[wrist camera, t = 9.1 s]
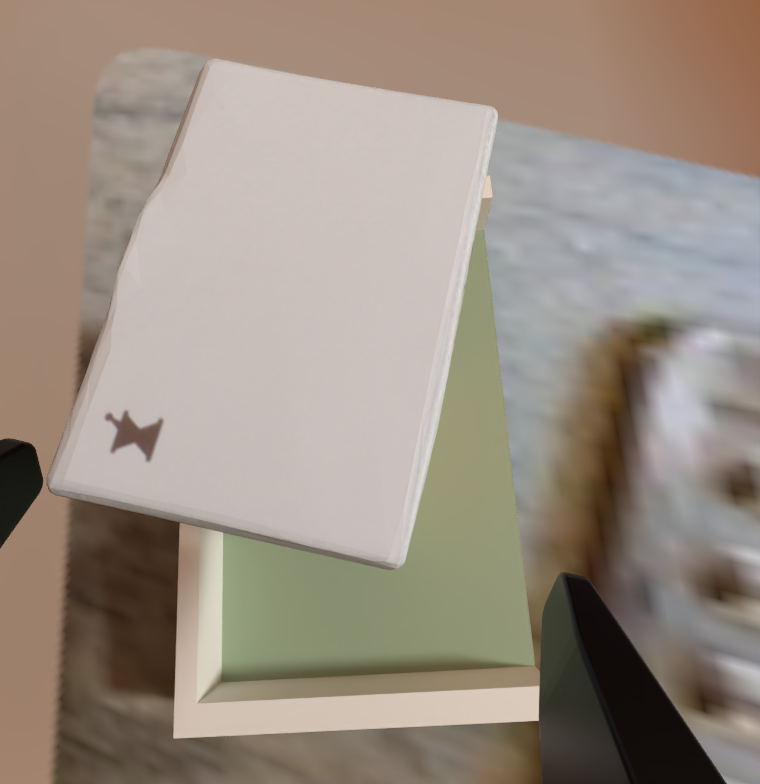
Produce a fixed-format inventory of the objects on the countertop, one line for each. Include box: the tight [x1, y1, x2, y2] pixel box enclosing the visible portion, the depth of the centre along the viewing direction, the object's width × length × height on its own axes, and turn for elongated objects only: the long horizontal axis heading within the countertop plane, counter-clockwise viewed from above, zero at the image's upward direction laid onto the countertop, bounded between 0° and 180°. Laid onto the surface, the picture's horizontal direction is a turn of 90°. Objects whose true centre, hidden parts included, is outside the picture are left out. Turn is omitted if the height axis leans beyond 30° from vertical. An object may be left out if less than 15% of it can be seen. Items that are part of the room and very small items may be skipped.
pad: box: [173, 176, 540, 738], centre depth 17 cm, size 16×10×3 cm, turn 3°
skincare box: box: [47, 59, 498, 570], centre depth 12 cm, size 6×4×12 cm
